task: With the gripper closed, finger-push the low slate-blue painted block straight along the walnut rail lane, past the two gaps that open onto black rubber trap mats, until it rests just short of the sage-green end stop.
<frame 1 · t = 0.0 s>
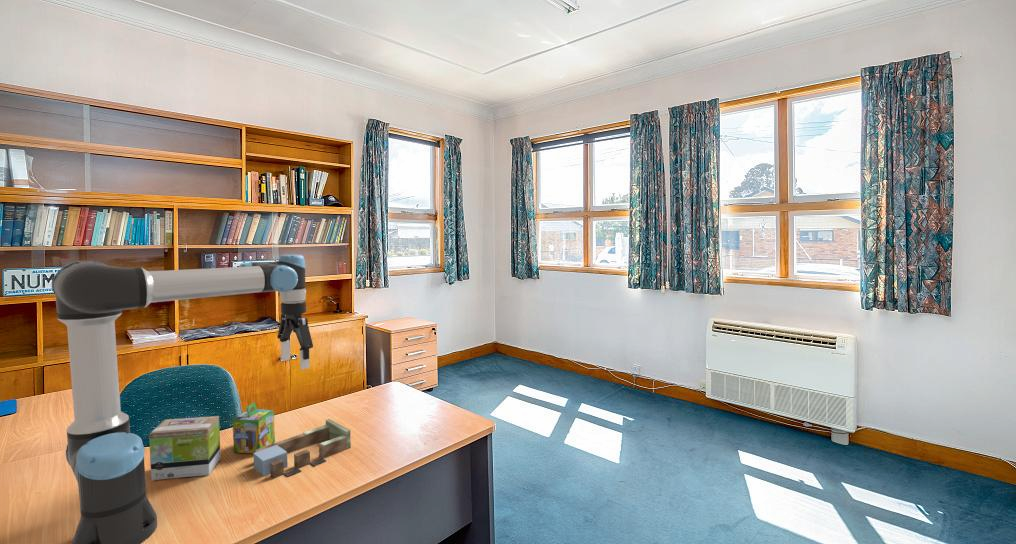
hand: (295, 364, 150), 28 cm above the table, fingers open, 13 cm apart
block: (270, 468, 138), on the table
tea box: (187, 470, 136), on the table
chalk box: (255, 447, 150), on the table
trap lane: (302, 455, 146), on the table
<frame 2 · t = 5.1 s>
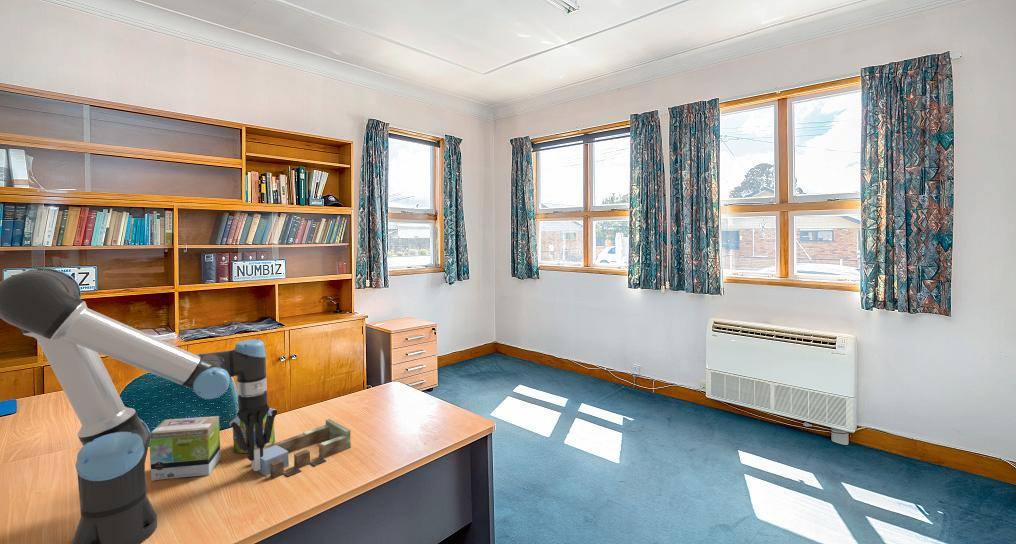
hand: (256, 468, 134), 1 cm above the table, fingers closed
nothing on the table moved.
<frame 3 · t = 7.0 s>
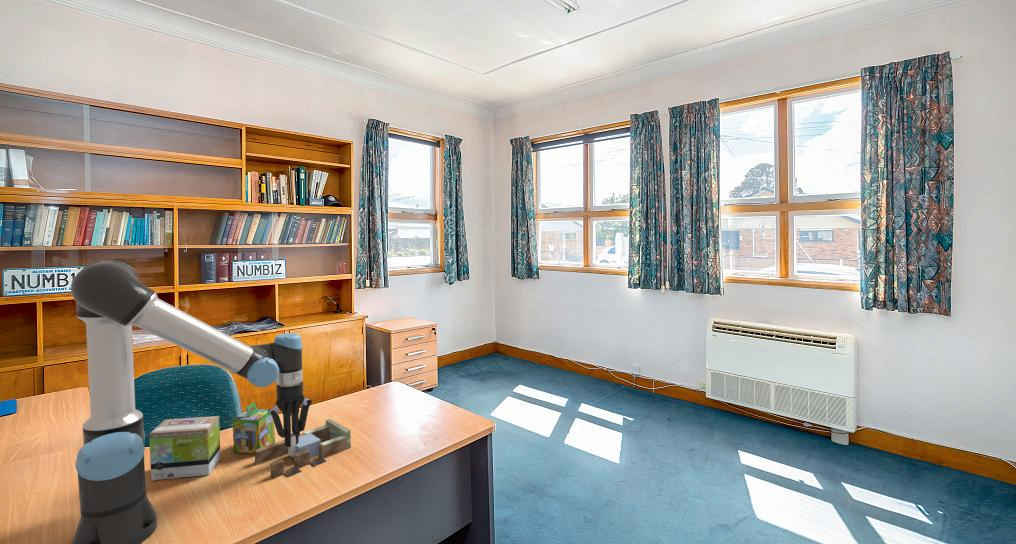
hand: (292, 454, 143), 2 cm above the table, fingers closed
block: (305, 454, 146), on the table, touching gripper
everything else where it was.
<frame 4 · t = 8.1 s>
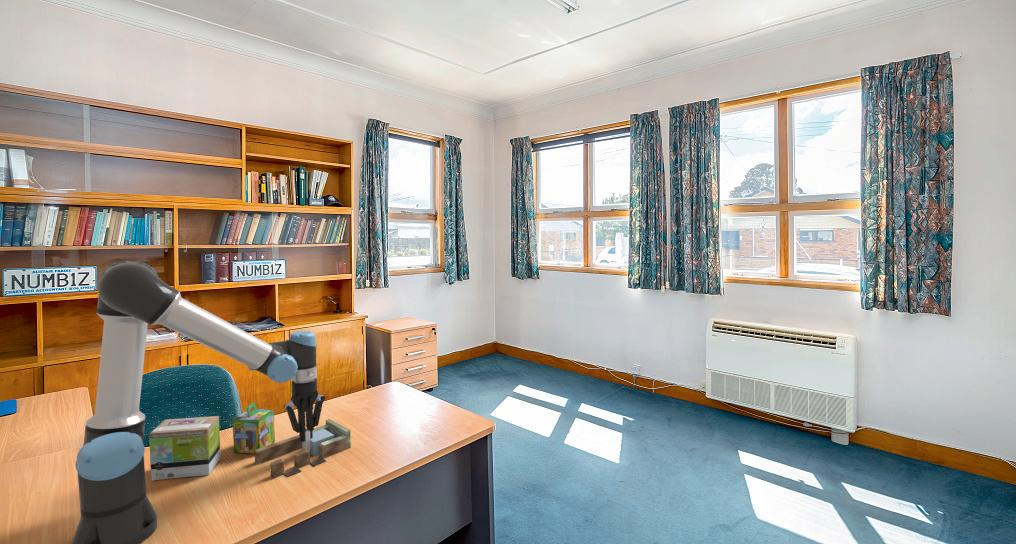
hand: (306, 449, 146), 1 cm above the table, fingers closed
block: (319, 449, 150), on the table, touching gripper
everything else where it was.
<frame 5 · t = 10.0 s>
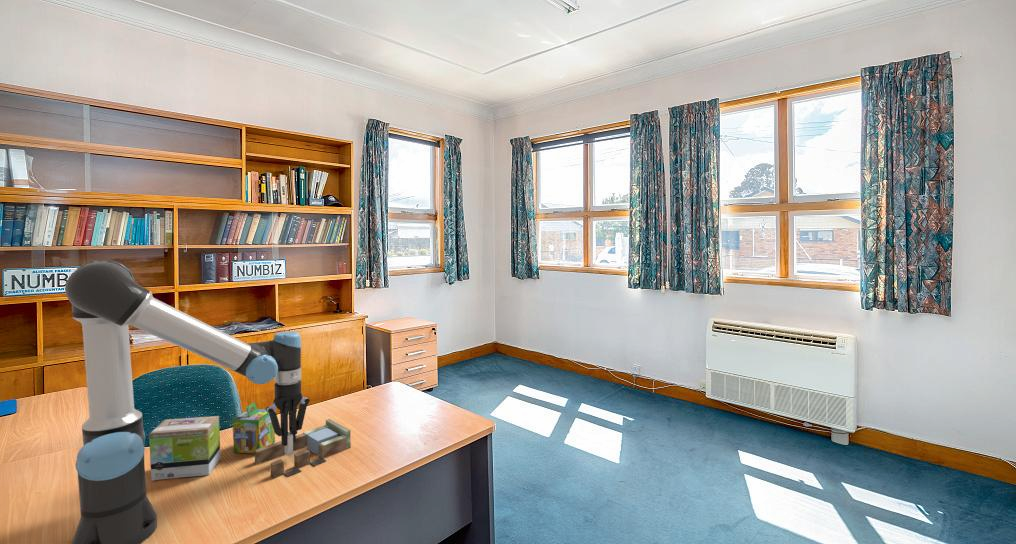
hand: (288, 453, 142), 2 cm above the table, fingers closed
block: (322, 448, 151), on the table
everything else where it was.
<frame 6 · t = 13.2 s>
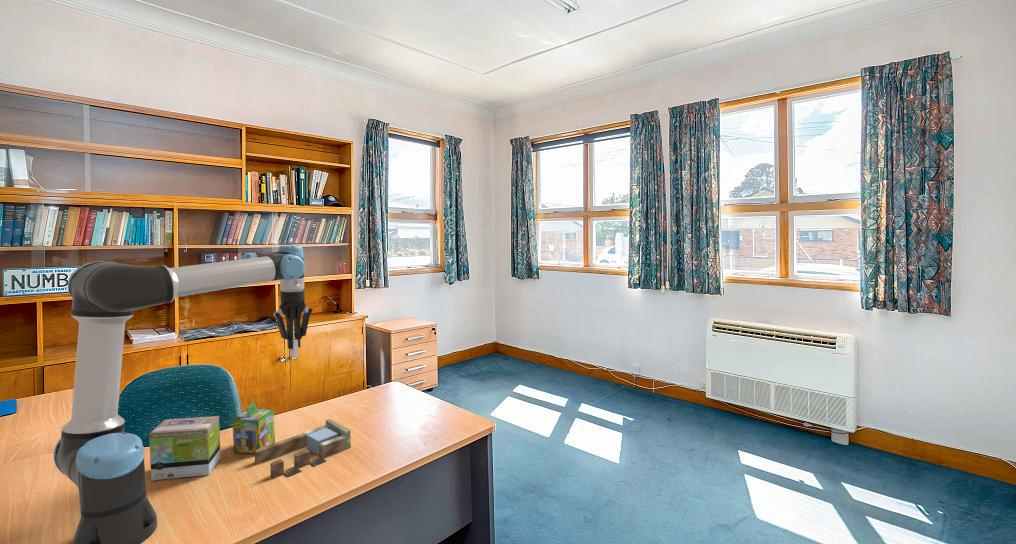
hand: (294, 357, 156), 28 cm above the table, fingers closed
nothing on the table moved.
at the end: block inside the target area (0.1 cm from its centre), on the table; block tilted 0°; the gripper is holding nothing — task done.
